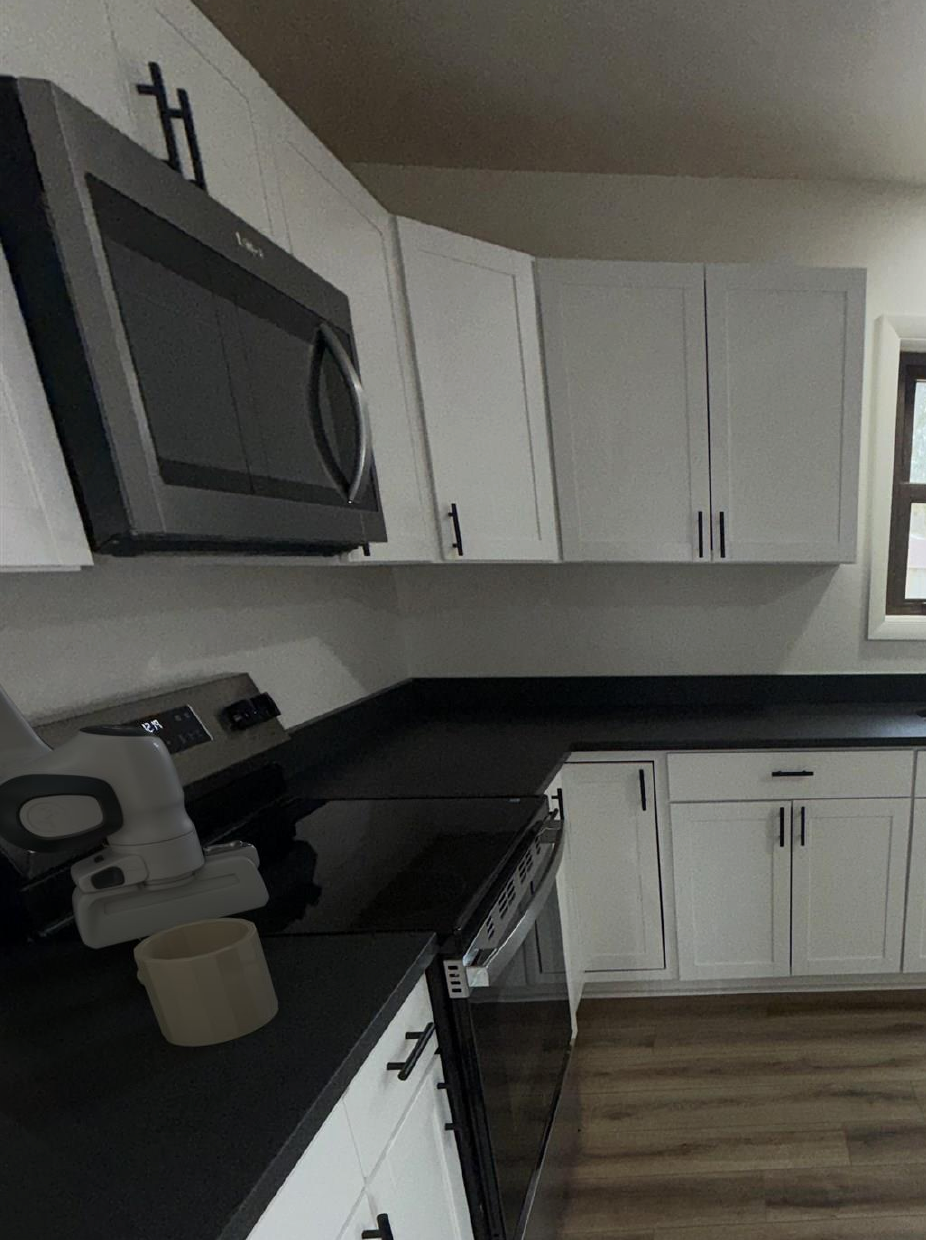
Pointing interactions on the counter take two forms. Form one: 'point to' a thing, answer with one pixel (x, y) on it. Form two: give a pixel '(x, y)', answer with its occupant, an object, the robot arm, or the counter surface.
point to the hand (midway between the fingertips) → (192, 955)
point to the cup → (207, 981)
